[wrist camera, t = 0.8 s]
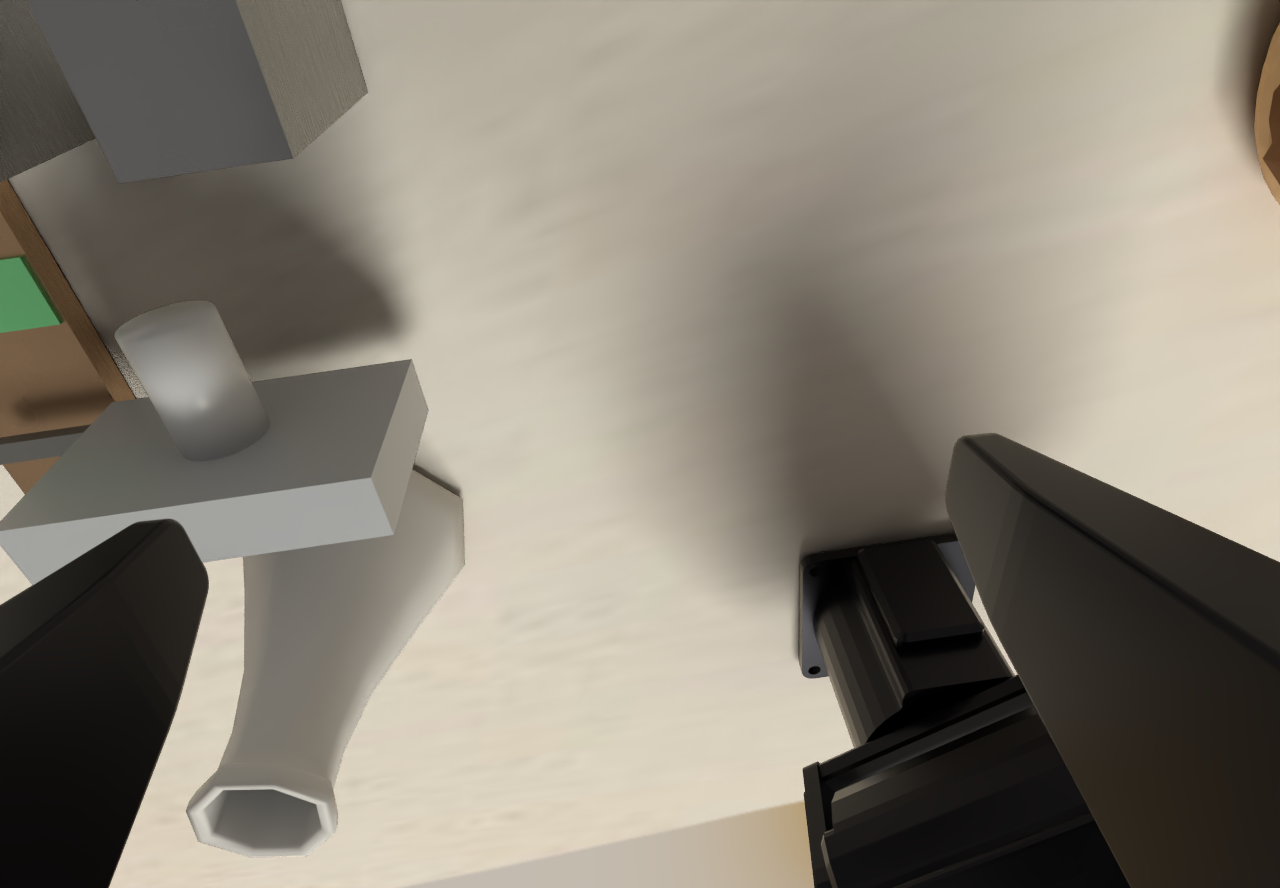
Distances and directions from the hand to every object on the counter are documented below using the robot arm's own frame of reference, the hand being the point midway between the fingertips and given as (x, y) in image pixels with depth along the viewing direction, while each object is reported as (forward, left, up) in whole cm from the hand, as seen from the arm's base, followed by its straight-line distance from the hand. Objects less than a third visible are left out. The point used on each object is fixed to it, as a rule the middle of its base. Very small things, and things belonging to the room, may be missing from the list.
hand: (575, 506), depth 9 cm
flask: (-10, +9, -13) cm, 19 cm away
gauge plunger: (-3, +11, -11) cm, 16 cm away
